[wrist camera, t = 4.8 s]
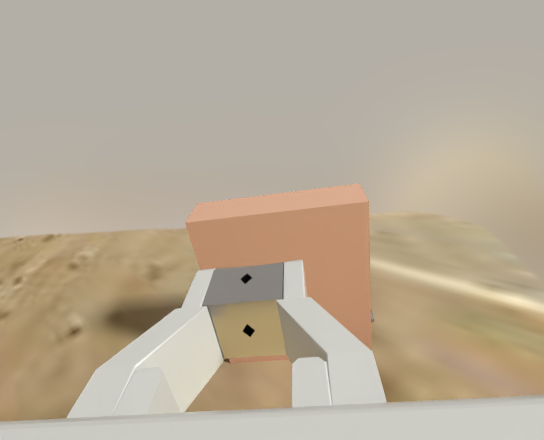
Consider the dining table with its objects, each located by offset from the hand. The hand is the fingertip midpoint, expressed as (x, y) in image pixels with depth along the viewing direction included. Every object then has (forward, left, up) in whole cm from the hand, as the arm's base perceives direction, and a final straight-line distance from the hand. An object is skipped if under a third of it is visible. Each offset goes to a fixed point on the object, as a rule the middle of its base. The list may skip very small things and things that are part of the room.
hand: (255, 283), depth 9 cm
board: (-7, +11, -17) cm, 22 cm away
